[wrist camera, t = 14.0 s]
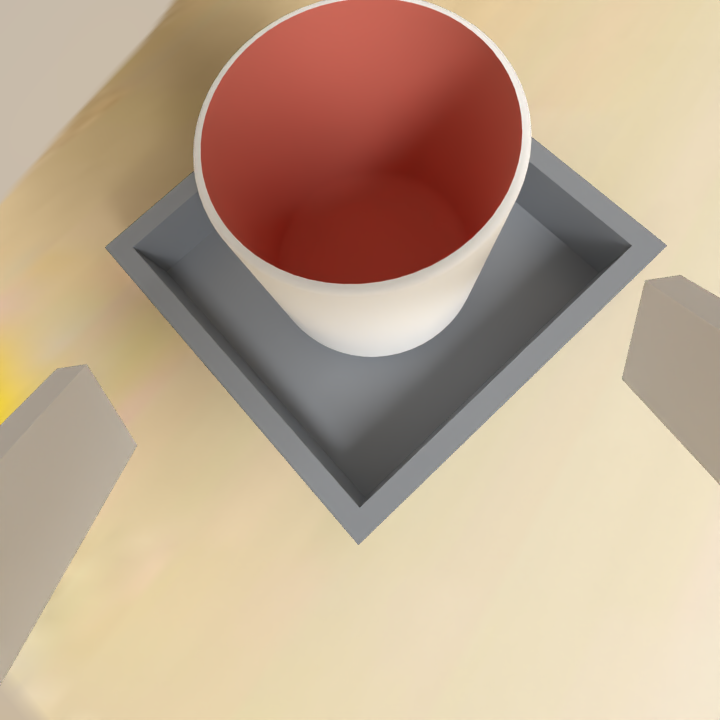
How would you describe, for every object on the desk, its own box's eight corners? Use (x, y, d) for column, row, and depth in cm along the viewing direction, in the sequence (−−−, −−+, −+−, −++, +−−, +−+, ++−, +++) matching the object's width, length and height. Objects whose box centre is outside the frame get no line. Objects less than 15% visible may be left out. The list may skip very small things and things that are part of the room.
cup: (242, 289, 23) (124, 172, 13) (356, 150, 23) (327, -57, 14) (394, 402, 21) (391, 367, 11) (510, 246, 22) (603, 86, 12)
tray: (618, 280, 22) (667, 245, 18) (365, 525, 21) (358, 545, 17) (380, 79, 25) (377, 13, 21) (152, 278, 24) (104, 247, 20)
